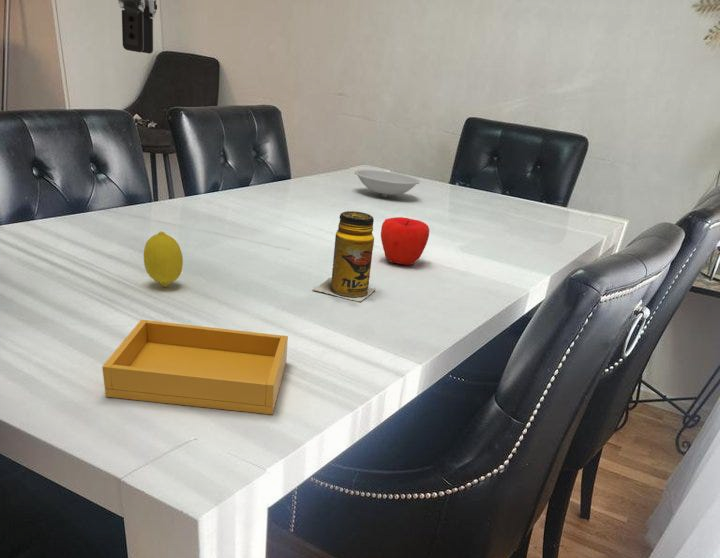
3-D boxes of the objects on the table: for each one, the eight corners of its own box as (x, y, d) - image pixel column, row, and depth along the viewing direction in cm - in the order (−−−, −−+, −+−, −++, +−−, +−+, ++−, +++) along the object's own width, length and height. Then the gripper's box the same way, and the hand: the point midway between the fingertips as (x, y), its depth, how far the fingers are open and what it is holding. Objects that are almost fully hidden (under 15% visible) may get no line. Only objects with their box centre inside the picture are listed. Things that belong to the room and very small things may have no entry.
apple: (383, 269, 118) (389, 224, 114) (372, 254, 125) (377, 212, 121) (429, 271, 120) (437, 227, 116) (416, 257, 127) (423, 215, 123)
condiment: (360, 302, 102) (369, 223, 95) (311, 290, 104) (317, 212, 97) (376, 290, 107) (385, 214, 101) (329, 279, 109) (335, 204, 103)
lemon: (184, 281, 100) (182, 228, 96) (182, 293, 96) (180, 238, 91) (147, 279, 99) (143, 225, 95) (143, 291, 95) (139, 235, 90)
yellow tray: (105, 397, 68) (102, 366, 66) (143, 346, 79) (141, 319, 77) (272, 414, 69) (273, 385, 67) (286, 362, 80) (287, 335, 78)
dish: (344, 194, 170) (346, 173, 167) (362, 186, 181) (364, 167, 179) (409, 206, 166) (412, 186, 163) (422, 198, 178) (425, 178, 175)
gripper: (111, -120, 74) (116, 47, 83) (84, -156, 62) (93, 44, 71) (178, -104, 76) (176, 58, 84) (164, -137, 64) (164, 57, 72)
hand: (138, 51), depth 77 cm, fingers open, 8 cm apart
